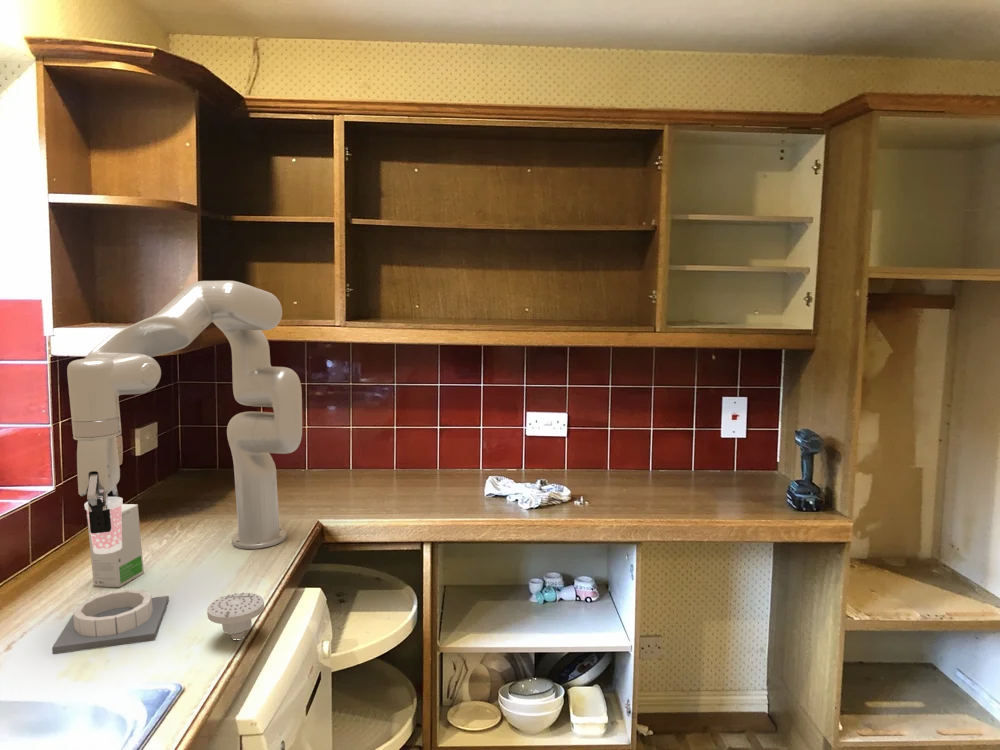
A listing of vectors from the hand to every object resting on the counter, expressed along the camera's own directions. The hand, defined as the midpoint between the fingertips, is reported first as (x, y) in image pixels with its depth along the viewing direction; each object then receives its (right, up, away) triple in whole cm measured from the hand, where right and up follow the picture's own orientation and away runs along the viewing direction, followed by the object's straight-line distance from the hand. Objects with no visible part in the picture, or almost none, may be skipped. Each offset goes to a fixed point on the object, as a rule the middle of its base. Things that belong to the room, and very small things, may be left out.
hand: (105, 524), depth 131 cm
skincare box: (-10, -17, +23) cm, 30 cm away
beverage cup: (0, -5, +1) cm, 5 cm away
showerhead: (+25, -20, -3) cm, 32 cm away
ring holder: (0, -19, +3) cm, 19 cm away
